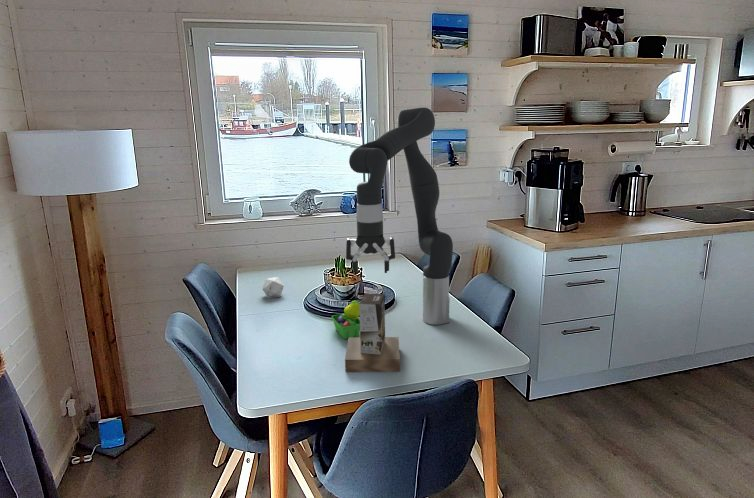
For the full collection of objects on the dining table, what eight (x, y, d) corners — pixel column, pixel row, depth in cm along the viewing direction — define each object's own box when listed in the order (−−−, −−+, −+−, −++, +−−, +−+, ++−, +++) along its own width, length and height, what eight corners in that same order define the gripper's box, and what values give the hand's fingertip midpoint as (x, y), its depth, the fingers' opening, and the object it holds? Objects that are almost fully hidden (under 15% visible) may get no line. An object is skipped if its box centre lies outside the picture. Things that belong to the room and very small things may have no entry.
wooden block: (398, 348, 164) (398, 337, 163) (399, 371, 150) (399, 359, 148) (349, 348, 164) (348, 337, 163) (345, 371, 150) (345, 359, 149)
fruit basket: (331, 328, 180) (329, 299, 177) (354, 324, 183) (353, 295, 180) (342, 341, 170) (340, 310, 167) (366, 336, 173) (365, 305, 170)
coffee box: (381, 355, 151) (380, 304, 147) (359, 353, 152) (358, 303, 148) (386, 341, 160) (385, 293, 156) (366, 340, 161) (364, 292, 157)
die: (259, 298, 213) (259, 284, 206) (268, 282, 219) (269, 269, 211) (276, 305, 212) (278, 292, 205) (285, 290, 218) (287, 276, 211)
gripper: (394, 215, 149) (395, 268, 153) (345, 216, 149) (347, 269, 154) (394, 221, 142) (395, 276, 146) (343, 222, 142) (346, 277, 147)
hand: (371, 272), depth 150 cm, fingers open, 8 cm apart
